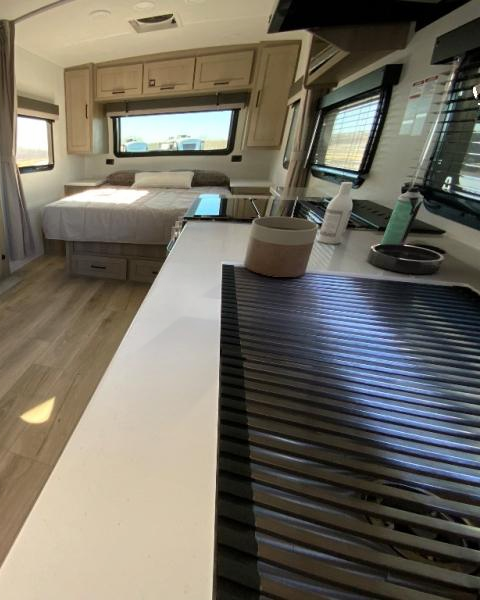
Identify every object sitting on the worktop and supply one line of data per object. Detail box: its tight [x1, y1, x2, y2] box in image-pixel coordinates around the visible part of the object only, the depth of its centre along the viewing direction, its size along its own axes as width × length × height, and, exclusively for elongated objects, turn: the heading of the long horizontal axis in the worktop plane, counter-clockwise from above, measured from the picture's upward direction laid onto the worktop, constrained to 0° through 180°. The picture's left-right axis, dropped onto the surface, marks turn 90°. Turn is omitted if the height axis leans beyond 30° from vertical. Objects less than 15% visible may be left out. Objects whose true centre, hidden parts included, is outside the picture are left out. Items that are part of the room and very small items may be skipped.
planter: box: [243, 215, 319, 278], centre depth 94 cm, size 16×16×14 cm
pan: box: [366, 243, 445, 275], centre depth 96 cm, size 15×15×4 cm
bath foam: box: [317, 181, 354, 245], centre depth 113 cm, size 7×7×20 cm
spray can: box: [380, 186, 425, 245], centre depth 101 cm, size 6×6×20 cm
